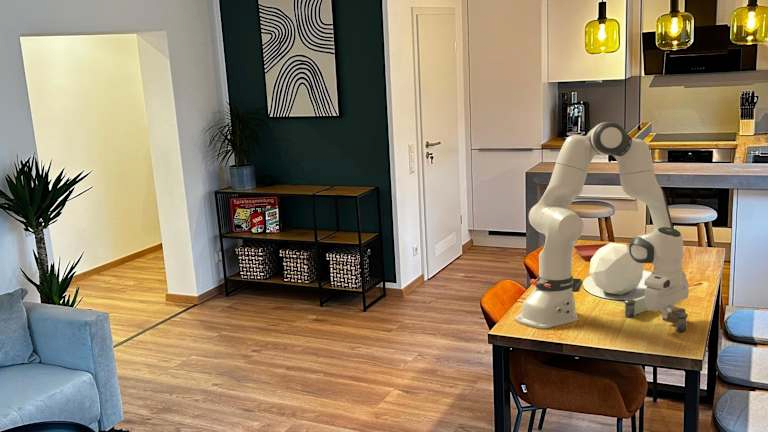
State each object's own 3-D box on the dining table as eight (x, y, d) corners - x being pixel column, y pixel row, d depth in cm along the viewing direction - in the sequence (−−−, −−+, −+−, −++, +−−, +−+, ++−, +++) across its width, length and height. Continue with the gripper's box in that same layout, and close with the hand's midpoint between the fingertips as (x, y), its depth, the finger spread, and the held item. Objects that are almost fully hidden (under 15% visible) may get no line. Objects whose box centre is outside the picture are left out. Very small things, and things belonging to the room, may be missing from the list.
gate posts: (683, 333, 224) (683, 317, 223) (622, 316, 242) (622, 301, 241) (689, 330, 226) (689, 314, 225) (628, 314, 244) (628, 298, 243)
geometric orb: (629, 312, 266) (651, 280, 251) (578, 293, 268) (597, 260, 253) (633, 276, 278) (655, 243, 264) (584, 258, 281) (603, 225, 266)
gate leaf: (662, 305, 250) (663, 291, 249) (634, 314, 242) (635, 300, 241) (659, 304, 251) (659, 290, 250) (631, 313, 243) (631, 299, 242)
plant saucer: (581, 262, 312) (581, 254, 312) (572, 252, 330) (572, 245, 329) (622, 260, 311) (622, 253, 311) (611, 250, 329) (611, 243, 328)
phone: (556, 288, 274) (562, 277, 287) (556, 291, 274) (562, 280, 288) (577, 290, 271) (581, 278, 284) (577, 292, 271) (581, 281, 285)
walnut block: (676, 324, 233) (676, 312, 232) (662, 320, 237) (663, 308, 236) (684, 320, 236) (685, 309, 235) (671, 316, 240) (671, 305, 239)
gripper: (676, 268, 239) (675, 307, 242) (641, 281, 228) (640, 322, 230) (694, 272, 234) (692, 311, 237) (658, 285, 223) (657, 327, 225)
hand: (666, 317), depth 234 cm, fingers closed
